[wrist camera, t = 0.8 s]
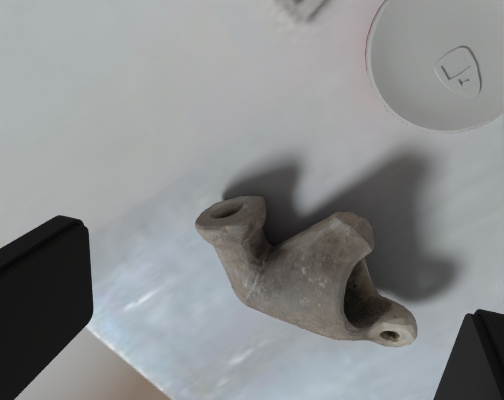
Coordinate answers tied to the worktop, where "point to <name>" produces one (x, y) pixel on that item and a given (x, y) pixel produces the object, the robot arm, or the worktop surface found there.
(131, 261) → the worktop surface
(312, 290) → the grey piece
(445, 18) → the canned food
